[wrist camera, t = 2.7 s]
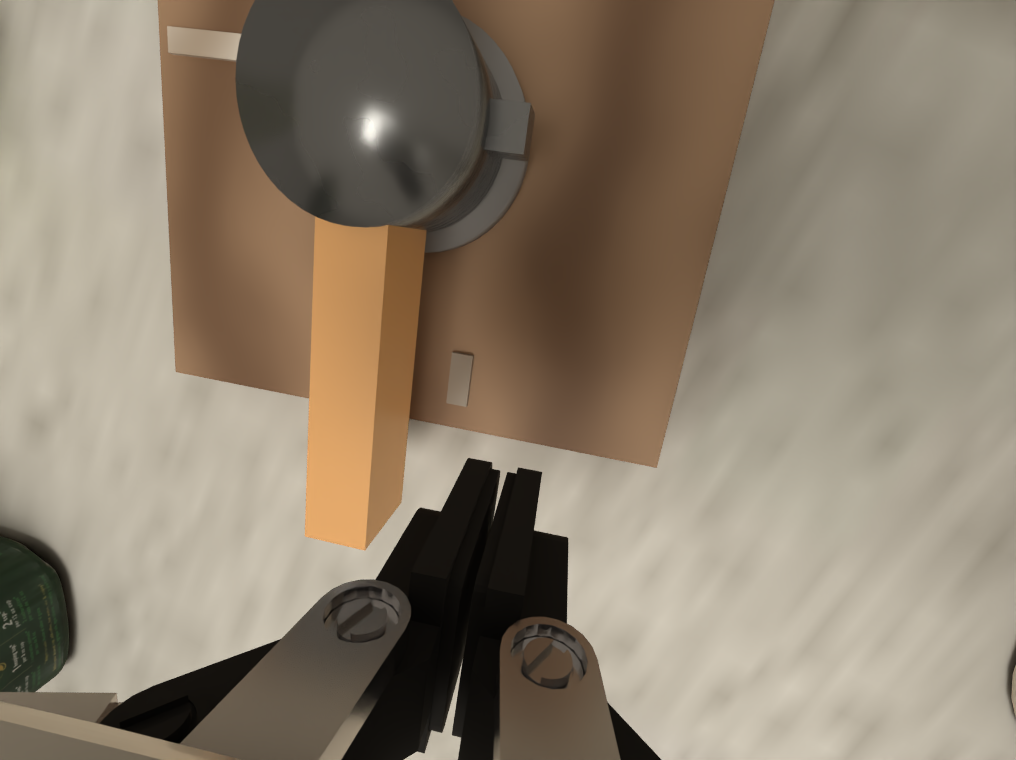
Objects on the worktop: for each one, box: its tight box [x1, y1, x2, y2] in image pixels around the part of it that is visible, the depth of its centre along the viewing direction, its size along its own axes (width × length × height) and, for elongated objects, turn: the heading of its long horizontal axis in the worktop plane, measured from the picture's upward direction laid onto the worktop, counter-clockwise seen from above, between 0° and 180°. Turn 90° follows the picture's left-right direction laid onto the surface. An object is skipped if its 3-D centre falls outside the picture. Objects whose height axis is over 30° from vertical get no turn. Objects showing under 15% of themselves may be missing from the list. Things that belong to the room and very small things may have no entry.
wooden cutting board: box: [158, 0, 774, 468], centre depth 17 cm, size 20×20×3 cm
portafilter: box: [235, 0, 535, 550], centre depth 14 cm, size 8×16×4 cm, turn 172°
